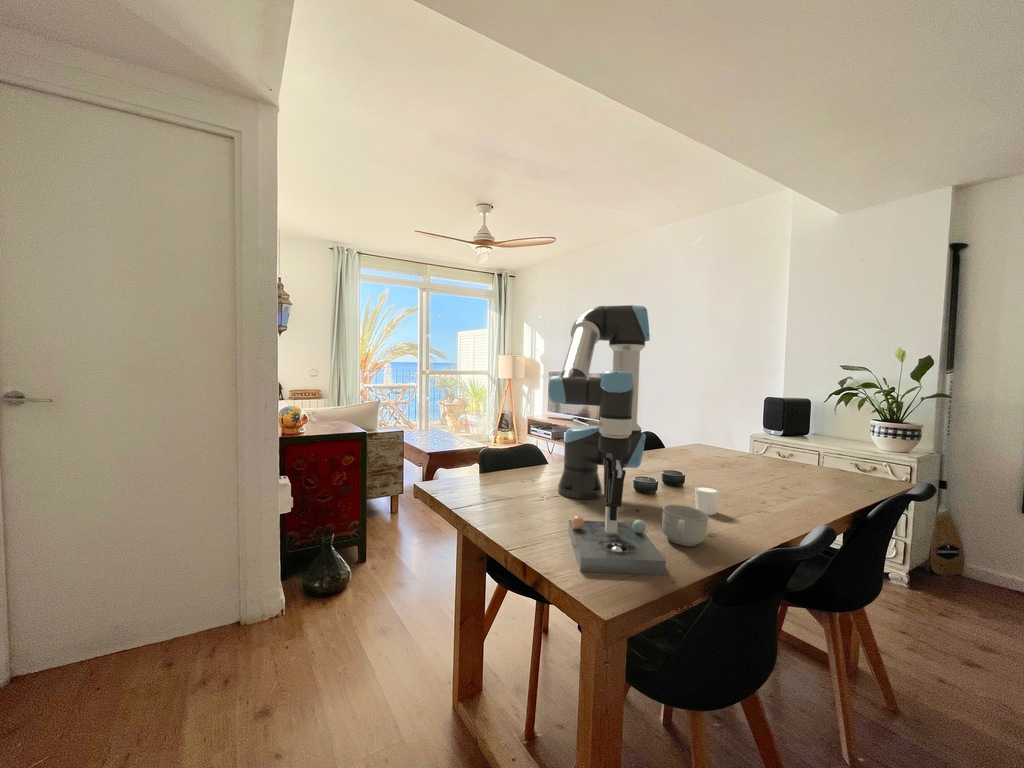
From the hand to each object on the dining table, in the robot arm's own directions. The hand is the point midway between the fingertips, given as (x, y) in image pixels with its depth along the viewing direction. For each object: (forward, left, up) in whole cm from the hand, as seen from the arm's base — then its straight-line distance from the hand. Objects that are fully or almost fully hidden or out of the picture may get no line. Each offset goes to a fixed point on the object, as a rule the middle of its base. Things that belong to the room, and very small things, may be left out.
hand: (611, 531), depth 102 cm
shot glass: (-29, +36, -4) cm, 46 cm away
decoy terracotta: (-3, -8, +1) cm, 8 cm away
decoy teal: (-2, +7, +1) cm, 8 cm away
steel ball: (+7, 0, -2) cm, 8 cm away
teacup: (-4, +19, -4) cm, 20 cm away
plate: (+2, 0, -4) cm, 4 cm away
